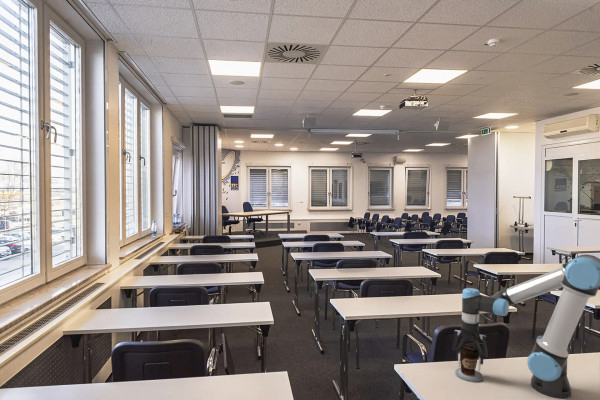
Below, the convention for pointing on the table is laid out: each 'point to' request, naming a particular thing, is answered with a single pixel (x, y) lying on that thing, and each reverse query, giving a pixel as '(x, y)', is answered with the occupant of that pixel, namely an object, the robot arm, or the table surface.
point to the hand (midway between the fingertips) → (469, 368)
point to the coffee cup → (468, 359)
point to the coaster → (474, 378)
